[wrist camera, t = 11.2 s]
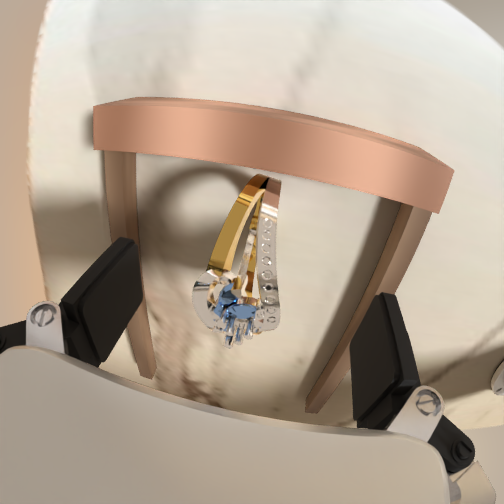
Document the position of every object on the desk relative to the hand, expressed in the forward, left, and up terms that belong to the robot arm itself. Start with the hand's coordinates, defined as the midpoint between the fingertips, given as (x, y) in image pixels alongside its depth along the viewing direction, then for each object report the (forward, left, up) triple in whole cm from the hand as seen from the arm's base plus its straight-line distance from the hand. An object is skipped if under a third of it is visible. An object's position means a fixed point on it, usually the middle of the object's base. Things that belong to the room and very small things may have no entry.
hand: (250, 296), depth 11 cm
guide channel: (0, +6, -6) cm, 9 cm away
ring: (0, 0, -7) cm, 7 cm away
